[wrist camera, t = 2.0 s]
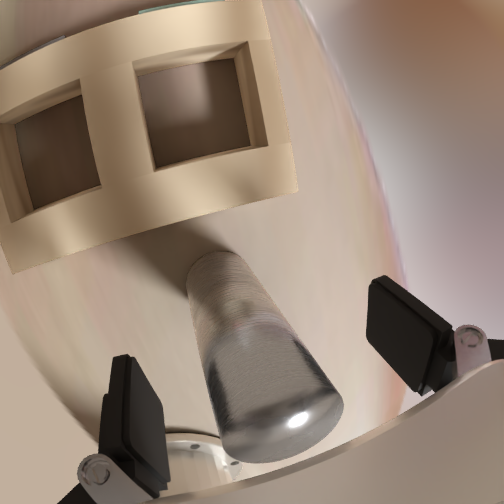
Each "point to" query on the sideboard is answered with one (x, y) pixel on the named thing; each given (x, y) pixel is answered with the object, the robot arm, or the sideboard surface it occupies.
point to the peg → (256, 366)
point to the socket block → (140, 128)
